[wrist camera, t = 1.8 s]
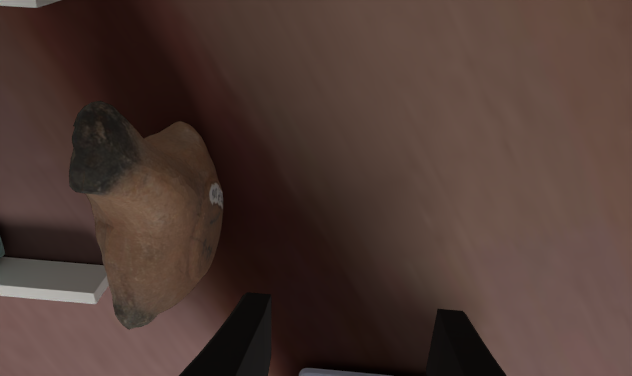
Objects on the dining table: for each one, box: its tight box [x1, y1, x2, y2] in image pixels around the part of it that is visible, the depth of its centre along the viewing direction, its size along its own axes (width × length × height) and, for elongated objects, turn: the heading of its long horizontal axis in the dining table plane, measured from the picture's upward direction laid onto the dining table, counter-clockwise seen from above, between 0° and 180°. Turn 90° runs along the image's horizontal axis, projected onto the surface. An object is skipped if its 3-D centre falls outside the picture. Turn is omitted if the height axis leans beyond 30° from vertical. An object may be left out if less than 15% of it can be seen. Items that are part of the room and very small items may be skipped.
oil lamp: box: [69, 101, 223, 329], centre depth 18 cm, size 9×4×8 cm, turn 0°
